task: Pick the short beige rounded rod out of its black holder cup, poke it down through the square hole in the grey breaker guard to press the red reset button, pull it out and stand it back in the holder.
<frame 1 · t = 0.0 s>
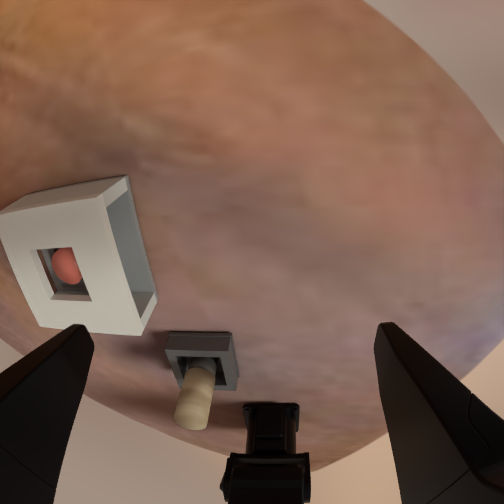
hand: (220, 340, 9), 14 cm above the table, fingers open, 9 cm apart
holder: (205, 354, 30), on the table
breaker box: (87, 245, 25), on the table
beige rounded rod: (204, 357, 29), resting on holder
breaker button: (72, 261, 22), point 3 cm above the table, slide at 0.0 cm
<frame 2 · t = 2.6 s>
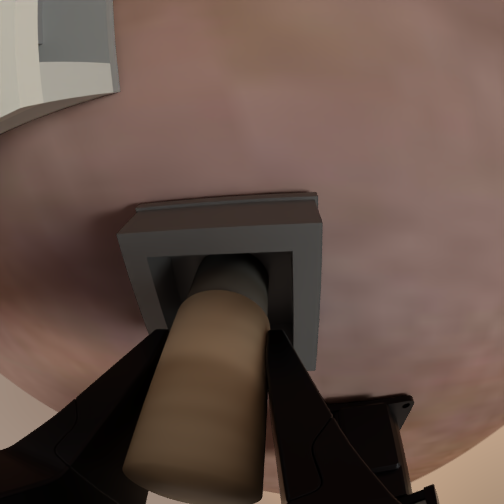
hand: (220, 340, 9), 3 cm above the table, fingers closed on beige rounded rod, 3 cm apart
holder: (233, 274, 12), on the table
breaker box: (2, 13, 7), on the table
beige rounded rod: (232, 280, 11), resting on holder, touching gripper
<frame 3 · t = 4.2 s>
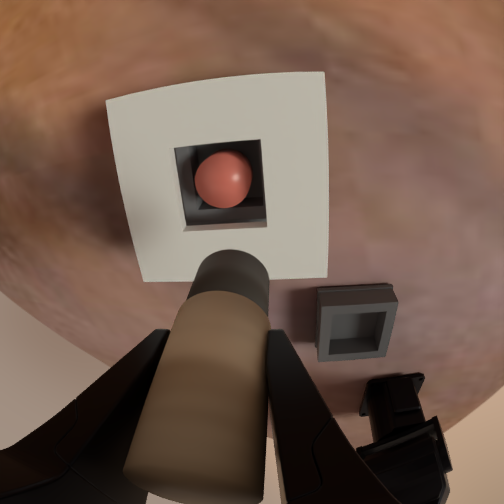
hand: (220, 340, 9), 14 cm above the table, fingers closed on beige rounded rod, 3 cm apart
holder: (352, 316, 25), on the table
breaker box: (231, 166, 20), on the table
beige rounded rod: (232, 281, 11), point 11 cm above the table, touching gripper
breaker button: (225, 177, 18), point 3 cm above the table, slide at 0.0 cm
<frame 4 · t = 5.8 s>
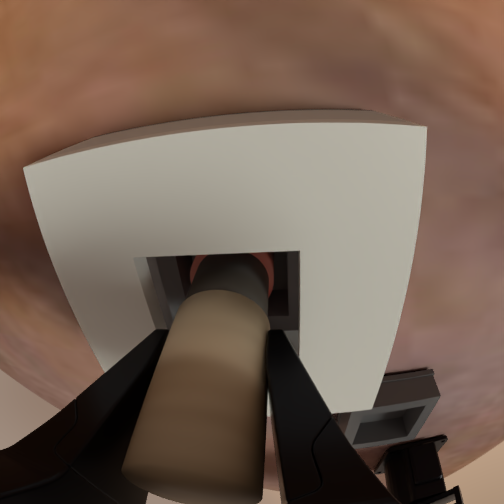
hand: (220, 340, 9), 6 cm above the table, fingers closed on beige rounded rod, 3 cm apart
holder: (381, 401, 19), on the table
breaker box: (238, 245, 14), on the table
beige rounded rod: (232, 280, 11), point 3 cm above the table, touching breaker button, gripper
breaker button: (234, 266, 12), point 2 cm above the table, slide at 1.1 cm, touching beige rounded rod
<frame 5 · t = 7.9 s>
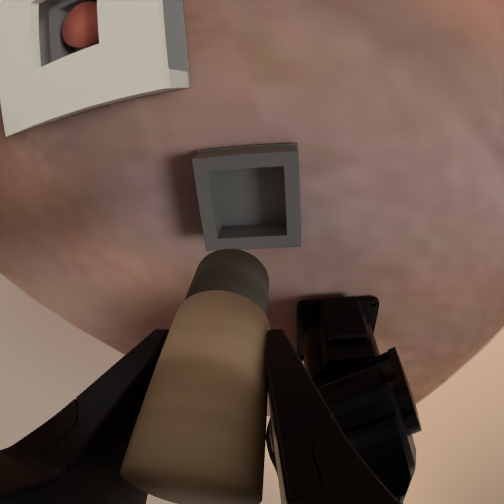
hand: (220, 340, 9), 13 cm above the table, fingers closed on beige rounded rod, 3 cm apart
holder: (251, 191, 20), on the table
breaker box: (102, 28, 15), on the table
beige rounded rod: (231, 281, 11), point 10 cm above the table, touching gripper
breaker button: (90, 25, 13), point 2 cm above the table, slide at 1.1 cm
when the fingers open (4 cm above the table, at t = 9.7 s): beige rounded rod stays where it is, resting on holder.
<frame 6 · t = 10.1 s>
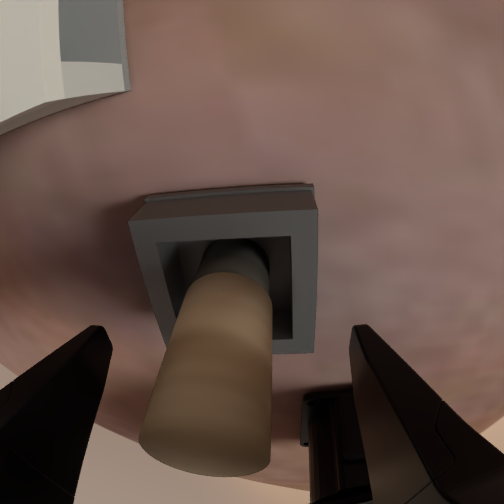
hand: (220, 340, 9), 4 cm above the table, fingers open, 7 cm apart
holder: (235, 261, 12), on the table
breaker box: (15, 14, 7), on the table
beige rounded rod: (235, 266, 12), resting on holder
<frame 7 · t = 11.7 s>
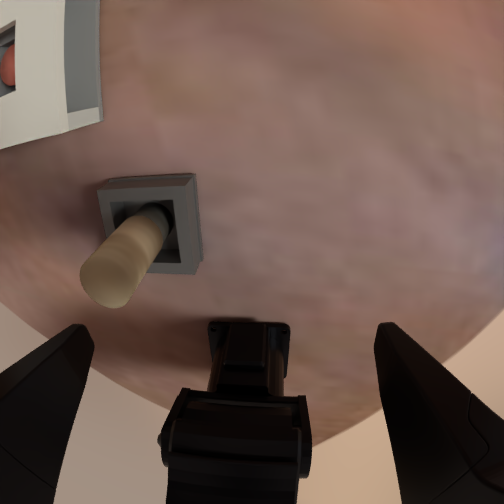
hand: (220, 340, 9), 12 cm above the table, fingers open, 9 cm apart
holder: (156, 218, 21), on the table
breaker box: (37, 62, 15), on the table
beige rounded rod: (154, 220, 20), resting on holder
breaker button: (23, 63, 14), point 2 cm above the table, slide at 1.1 cm
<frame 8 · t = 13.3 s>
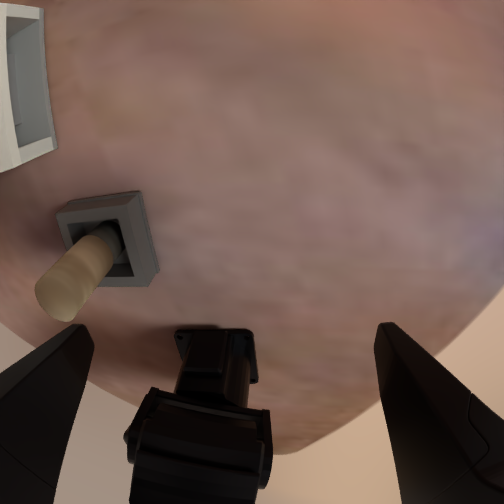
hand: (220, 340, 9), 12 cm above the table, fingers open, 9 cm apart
holder: (113, 235, 21), on the table
beige rounded rod: (110, 237, 21), resting on holder
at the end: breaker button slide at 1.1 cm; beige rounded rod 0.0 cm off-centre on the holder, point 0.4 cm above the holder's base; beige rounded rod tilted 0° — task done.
